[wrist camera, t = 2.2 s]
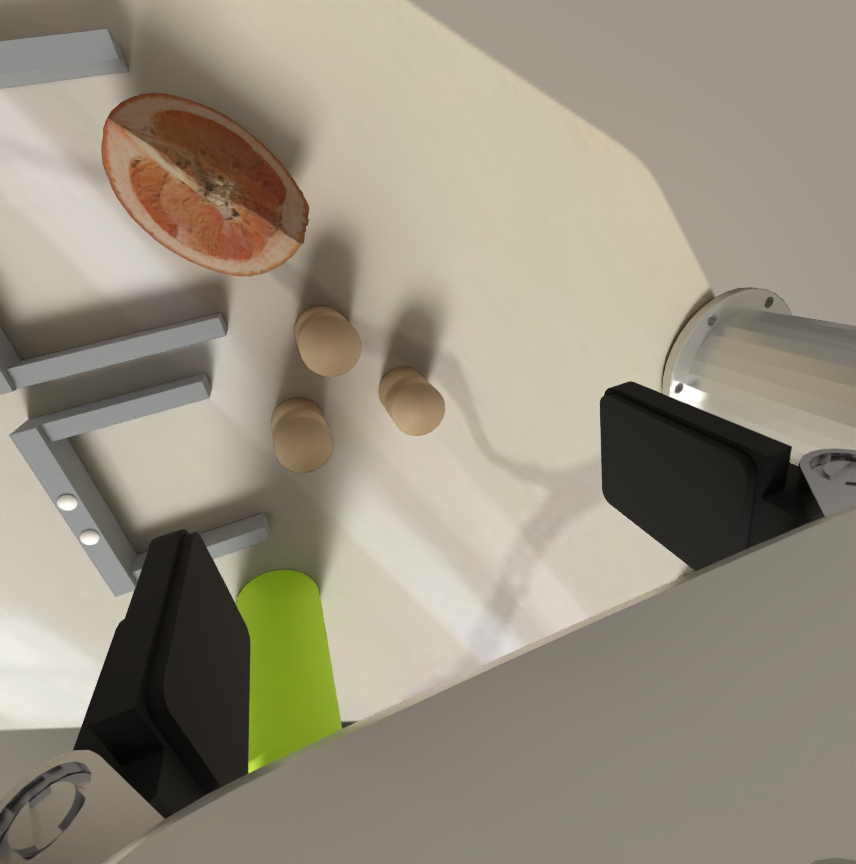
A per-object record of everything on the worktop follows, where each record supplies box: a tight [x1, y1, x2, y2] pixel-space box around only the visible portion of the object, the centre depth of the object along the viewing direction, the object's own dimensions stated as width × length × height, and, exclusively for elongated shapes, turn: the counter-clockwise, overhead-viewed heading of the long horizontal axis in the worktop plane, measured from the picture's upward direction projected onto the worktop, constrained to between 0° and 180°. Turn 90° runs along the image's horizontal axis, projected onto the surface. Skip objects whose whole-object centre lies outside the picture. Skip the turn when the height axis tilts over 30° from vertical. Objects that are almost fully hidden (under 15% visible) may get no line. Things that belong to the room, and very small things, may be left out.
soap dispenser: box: [236, 570, 342, 773], centre depth 26 cm, size 6×7×20 cm
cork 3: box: [379, 367, 445, 436], centre depth 30 cm, size 3×3×4 cm
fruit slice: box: [102, 93, 309, 276], centre depth 22 cm, size 8×7×5 cm
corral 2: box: [9, 373, 270, 597], centre depth 28 cm, size 9×11×2 cm
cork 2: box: [272, 397, 333, 473], centre depth 28 cm, size 3×3×4 cm
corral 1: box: [0, 29, 228, 395], centre depth 22 cm, size 11×13×2 cm
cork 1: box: [294, 305, 361, 377], centre depth 27 cm, size 3×3×4 cm
